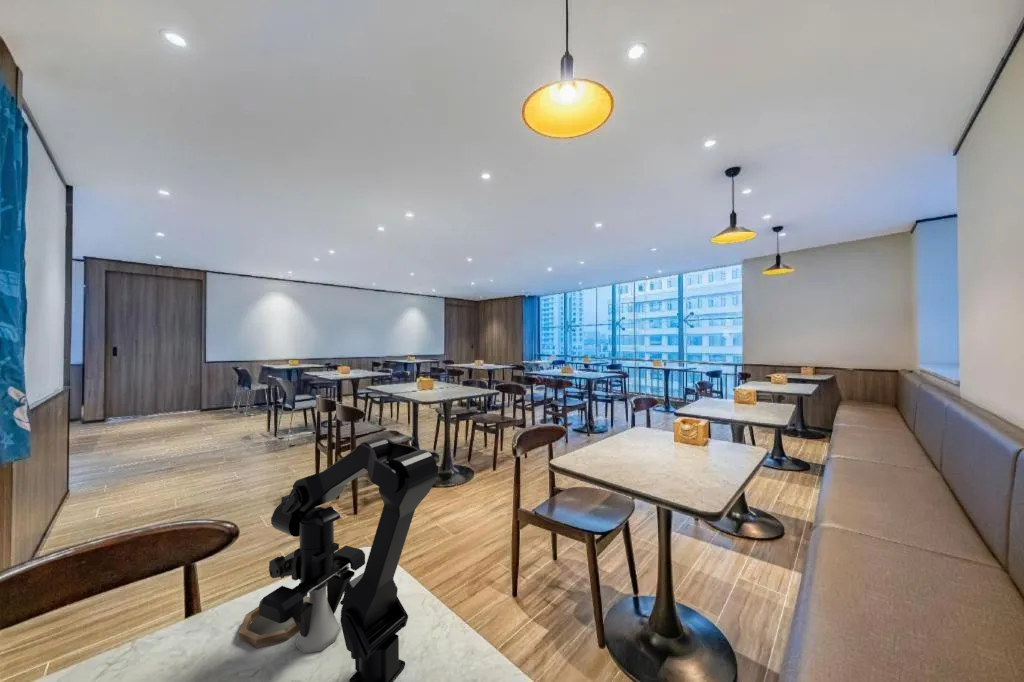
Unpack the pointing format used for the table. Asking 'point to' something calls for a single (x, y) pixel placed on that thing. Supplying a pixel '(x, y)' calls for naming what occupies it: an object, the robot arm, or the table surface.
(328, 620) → the flask
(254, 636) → the brown octagonal tray
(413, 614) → the table surface
